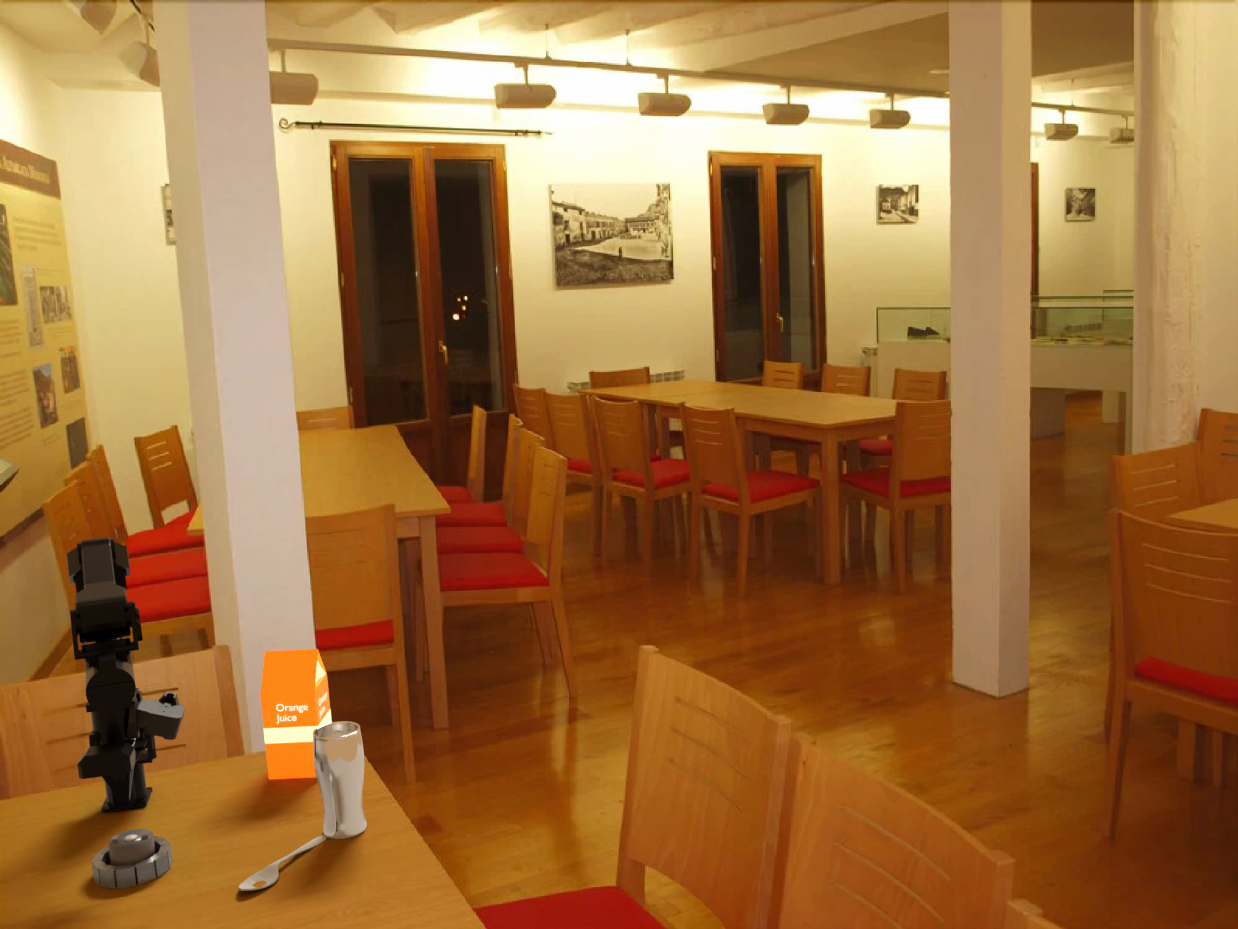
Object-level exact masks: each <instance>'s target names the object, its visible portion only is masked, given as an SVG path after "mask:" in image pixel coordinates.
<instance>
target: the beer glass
mask: <svg viewBox="0 0 1238 929" xmlns="http://www.w3.org/2000/svg"><path fill="white" fill-rule="evenodd" d="M364 751H365V750H364V744H363V738H362V732H361V725H360V724H359V723H357V722H354V721H347V720H343V721H342V720H341V721H332V723H327V724H324V725H322V726H319V727H317V728H316V729H315V730H314V731H313V760H314V769H315V774H316V777H315V778H316V781H317V785H318V788H319V792H320V793H319V794H320V795H321V800H322V804H323V809H324V811H323V812H324V818H323V825H322V826H323V828H322V829H323V830H322V833H323V835H325V836H326V837H327V838H329V839H333V840H345V839H350V838H355V837H357V836H359V835H360V834H362V833H363V832H365V831H366V830H367V826H368V823H367V820H366V817H365V816H366V815H365V812H364V809H363V788H364V779H365V778H364V777H365V752H364Z"/></svg>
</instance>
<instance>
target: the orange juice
mask: <svg viewBox="0 0 1238 929" xmlns="http://www.w3.org/2000/svg"><path fill="white" fill-rule="evenodd" d="M324 665H325V664H324V662H323V660H322V657H321V654H320V651H319V649H318V648H309V649H307V648H306V649H288V650H265V651H264V657H263V666H262V673H261V674H262V675H261V683H260V684H261V686H260V687H261V688H260V691H259V694H260V695H259V696H260V705H261V707H260V708H261V715H262V717H261V718H262V724H263V729H262V730H263V738H264V740H263V741H264V745H265V746H264V747H265V756H266V764H267V765H266V766H267V774H268V780H287V779H291V780H292V779H306V778H307V779H309V778H310V779H311V778H316V774H315V769H314V760H313V731H314V730H315V729H316V728H317V727H319V726H322V725H324V724H327V723H332V722H333V720H332V710H331V705H330V704H331V702H330V690H329V682H328V674H327V671H326V667H325V666H324Z"/></svg>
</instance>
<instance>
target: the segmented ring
mask: <svg viewBox="0 0 1238 929" xmlns="http://www.w3.org/2000/svg"><path fill="white" fill-rule="evenodd" d="M153 836H154V846H155V855H154V856H152V857H151V858H149V859H147V860H144V861H141V862H139V863H136V864H131V865H125V866H112V865H111V862H110V853H109V844H108V845H107V846H105V847H104V848H102V849H100V851H98V852H96V854H94V857H93V859H92V861H91V866H92V869H91V870H92V874H93V882H95V883H96V884H97V885H98V886H99V887H101V888H108V889H115V890H116V889H124V888H125V889H126V888H132V887H136V886H141V885H143V884H146V883H149V882H151V881H153V880H156V879H157V878H159V877H161V876H162V875H164V874H165V873H167V872H168V871H169V870H170V869H171V867H172V863H173V855H172V845H171V842H170V841H169V840H167V839H166V838H165V837H163V836H155V835H153Z"/></svg>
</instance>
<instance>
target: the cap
mask: <svg viewBox="0 0 1238 929" xmlns="http://www.w3.org/2000/svg"><path fill="white" fill-rule="evenodd" d="M154 836H155V835H154V832H153V831H152V830H150V829H146V828H145V829H144V828H135V829H130V830H126V831H122V832H120V833H118V834H116V835H113V836H112V837H111V838H110V839H109V841H108V845H109V853H110V862H111V865H112V866H125V865H131V864H136V863H139V862H141V861H144V860H147V859H149V858H151V857H152V856H154V855H155V846H154Z"/></svg>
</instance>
